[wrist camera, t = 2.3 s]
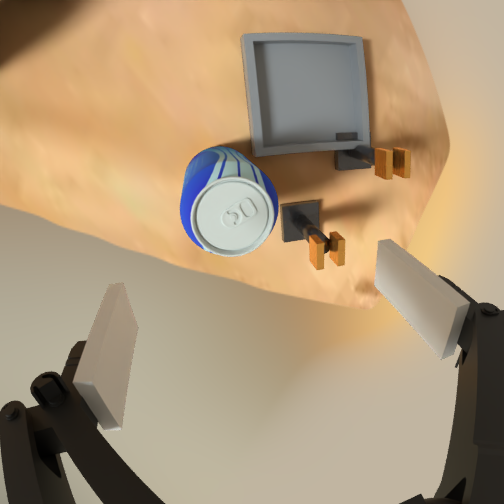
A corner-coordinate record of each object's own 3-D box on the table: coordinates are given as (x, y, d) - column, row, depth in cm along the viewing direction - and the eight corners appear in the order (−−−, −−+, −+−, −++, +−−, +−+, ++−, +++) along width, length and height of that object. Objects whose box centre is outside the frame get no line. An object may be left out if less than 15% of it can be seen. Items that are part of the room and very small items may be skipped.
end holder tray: (252, 154, 39) (255, 157, 37) (240, 38, 33) (243, 33, 30) (360, 145, 41) (369, 148, 38) (353, 40, 34) (362, 37, 32)
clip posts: (282, 239, 44) (309, 279, 34) (274, 136, 38) (303, 145, 28) (366, 226, 46) (409, 259, 36) (366, 131, 40) (416, 141, 30)
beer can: (246, 214, 42) (275, 270, 28) (181, 207, 40) (174, 263, 26) (257, 150, 39) (295, 172, 24) (188, 141, 37) (184, 158, 23)
